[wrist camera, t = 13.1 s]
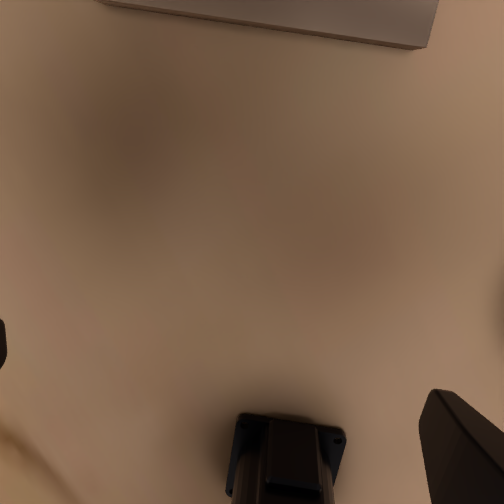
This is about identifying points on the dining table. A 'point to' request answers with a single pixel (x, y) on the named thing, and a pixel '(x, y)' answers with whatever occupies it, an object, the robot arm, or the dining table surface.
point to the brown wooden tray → (313, 17)
